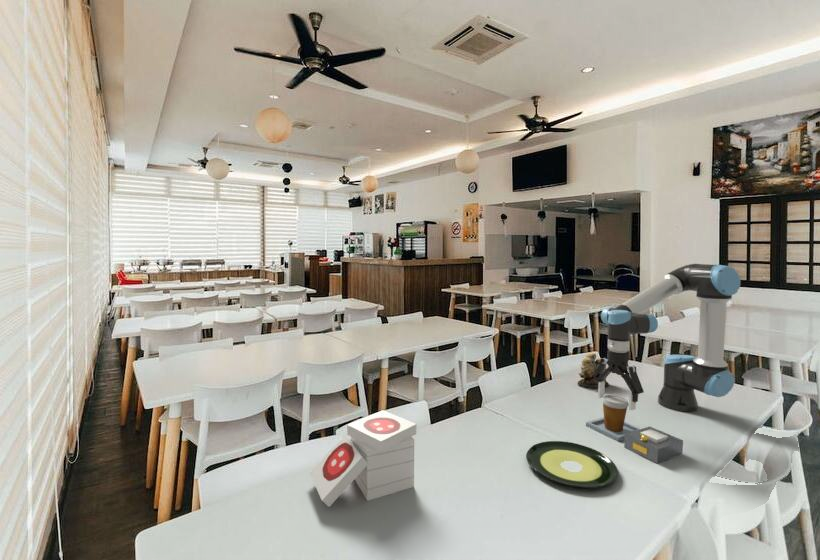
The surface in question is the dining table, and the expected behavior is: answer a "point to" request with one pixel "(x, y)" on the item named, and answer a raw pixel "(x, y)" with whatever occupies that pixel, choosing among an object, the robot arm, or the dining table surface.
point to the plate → (552, 453)
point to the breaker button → (654, 436)
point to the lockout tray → (600, 427)
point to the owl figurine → (590, 372)
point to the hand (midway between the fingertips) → (616, 403)
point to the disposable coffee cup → (614, 412)
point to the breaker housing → (653, 446)
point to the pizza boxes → (369, 459)
